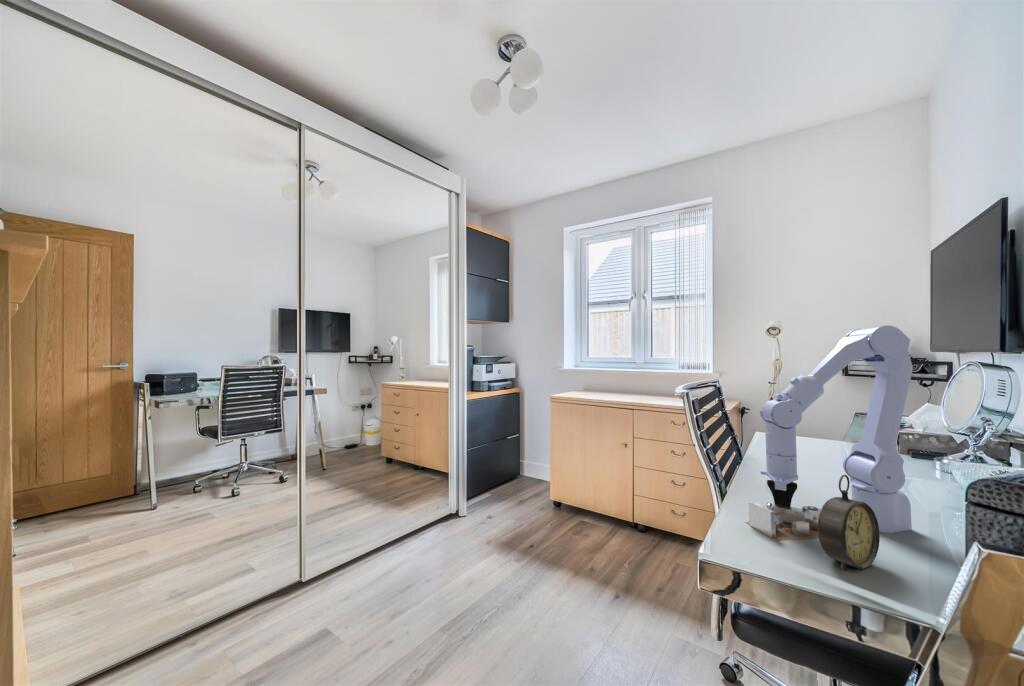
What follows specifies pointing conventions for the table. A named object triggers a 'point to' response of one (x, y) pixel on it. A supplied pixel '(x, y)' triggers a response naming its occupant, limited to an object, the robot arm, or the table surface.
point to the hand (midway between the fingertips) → (782, 514)
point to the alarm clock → (848, 531)
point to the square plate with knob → (772, 521)
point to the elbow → (797, 514)
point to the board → (788, 535)
